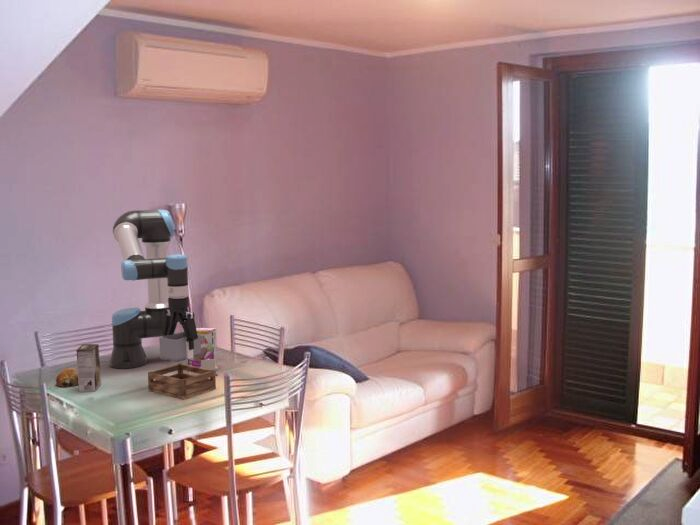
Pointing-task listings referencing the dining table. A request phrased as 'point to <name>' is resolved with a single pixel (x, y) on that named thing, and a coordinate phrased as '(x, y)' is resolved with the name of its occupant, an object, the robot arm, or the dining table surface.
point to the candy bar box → (205, 347)
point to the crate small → (177, 347)
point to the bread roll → (67, 377)
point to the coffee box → (88, 367)
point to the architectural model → (208, 364)
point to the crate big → (181, 381)
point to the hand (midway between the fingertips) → (180, 356)
